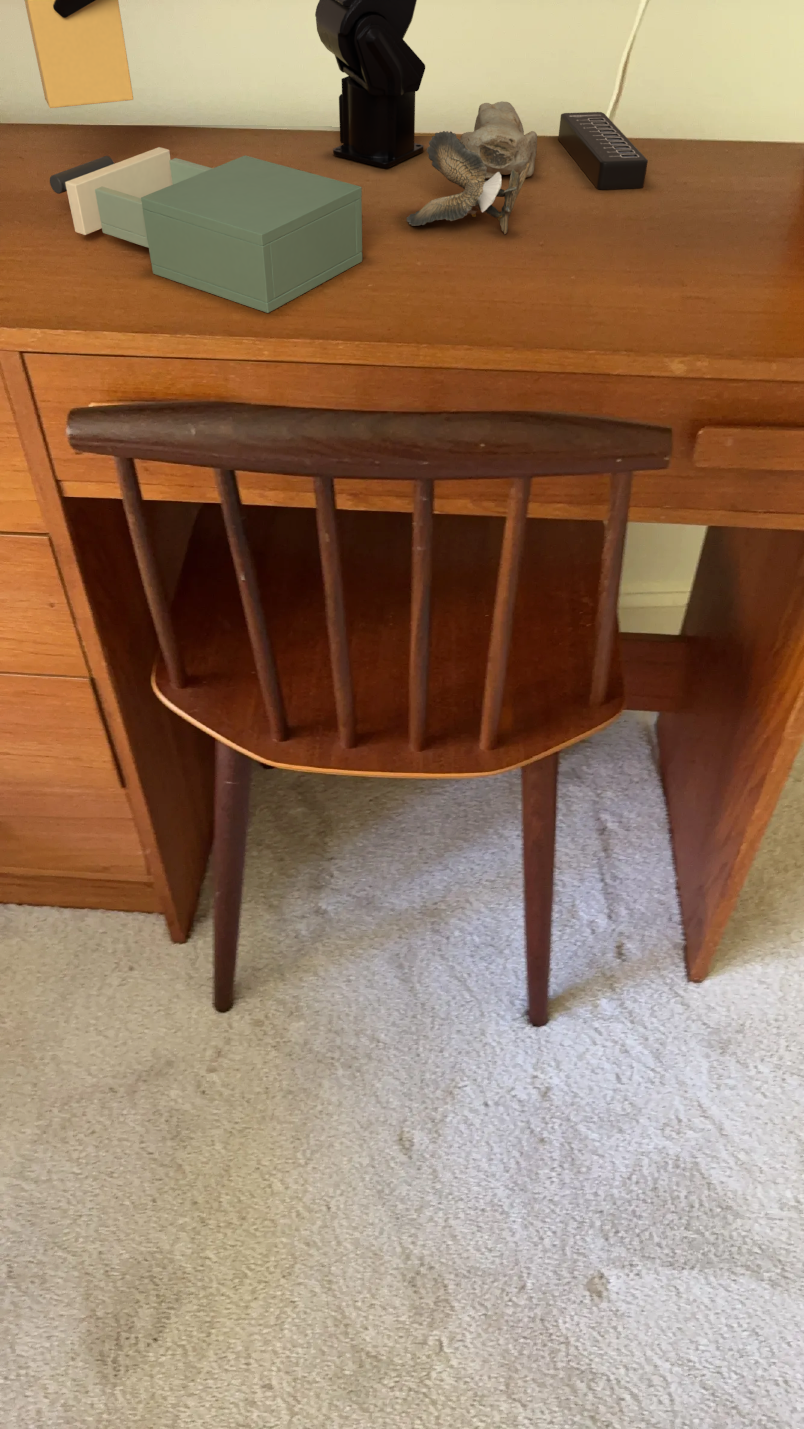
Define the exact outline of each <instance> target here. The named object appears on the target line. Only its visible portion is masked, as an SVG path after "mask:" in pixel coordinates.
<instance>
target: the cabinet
mask: <svg viewBox="0 0 804 1429" xmlns="http://www.w3.org/2000/svg"><path fill="white" fill-rule="evenodd" d="M212 168H213V169H210V170H208V171H205V172H203V173H200V174H198V175H195V176H193V177H190V178H188V179H185V180H183V181H181V182H178V183H176V184H173V185H171V186H168V187H166V188H163V189H161V190H158V191H156V192H153V193H151V194H148V195H146V196H144V197H141V202H142V208H143V215H144V221H145V228H146V234H147V240H148V247H149V248H148V252H149V258H150V263H151V270H152V275H156V276H158V277H161V278H163V279H166V280H170V281H173V282H175V283H176V282H177V283H179V284H182V285H185V286H188V287H189V288H193V289H196V290H199V291H202V292H205V293H208V294H210V295H213V296H217V297H220V298H223V299H226V300H228V301H231V302H234V303H237V304H240V305H243V306H246V307H248V308H252V309H254V310H257V311H260V312H263V313H266V314H269V313H271V312H273V311H275V310H277V309H279V308H281V307H282V306H284V305H286V304H287V303H290V302H291V301H293V300H295V299H296V298H298V297H300V296H302V295H304V294H306V293H308V292H310V291H311V290H313V289H315V288H317V287H319V286H320V285H322V284H324V283H326V282H328V281H330V280H331V279H333V278H335V277H337V276H339V275H341V274H342V273H344V272H346V271H348V270H349V269H351V268H353V267H355V266H356V265H358V264H360V263H362V262H363V208H362V207H363V206H362V205H363V204H362V202H363V200H362V199H363V198H362V196H363V191H362V186H360V185H356V184H353V183H349V182H345V181H342V180H338V179H334V178H331V177H327V176H323V175H320V174H316V173H312V172H309V171H304V170H301V169H297V168H294V167H290V166H286V165H283V164H279V163H275V162H271V161H267V160H264V159H260V158H257V157H253V156H248V155H242V156H240V157H238V158H235V159H232V160H230V161H228V162H225V163H223V164H220V165H218V166H215V167H212Z"/></svg>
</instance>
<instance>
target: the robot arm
mask: <svg viewBox="0 0 804 1429" xmlns="http://www.w3.org/2000/svg"><path fill="white" fill-rule="evenodd" d="M94 1H95V0H55V1H54V4H53V8H54V10H55V11H56V12H57V13H58V14H59V15H60V16H62V17H63V18H66V17H68V16H70V15H71V14H73V13H75V12H77V11H78V10H80V9H82V8H83V7H85V6H87V5H89V4H90V3H92V2H94ZM417 1H418V0H319V1H318V2H317V5H316V8H315V13H314V17H315V23H316V32H317V35H318V37H319V39H320V42H321V43H322V44H323V46H324V47H325V49H326V50H327V51H329V52H330V53H332V54H333V55H334V58H335V60H336V64H337V66H338V70H339V71H340V72H341V73H344V74H346V75H347V76H345V77H343V78H341V94H340V95H339V96H338V114H339V116H338V117H339V118H338V119H339V122H338V123H339V142H340V143H341V145H339V146H335V147H334V148H333V149H332V155H333V156H335V157H339V158H344V159H348V160H351V161H356V162H359V163H363V164H367V165H370V166H374V167H379V168H382V169H388V168H391V167H393V166H395V165H397V164H400V163H401V162H403V161H405V160H408V159H410V158H412V157H414V156H417V155H419V154H421V153H423V152H424V149H425V148H424V145H423V144H420V143H416V142H415V130H416V92H418V91H419V90H420V88H421V84H422V82H423V81H422V80H423V78H424V74H425V71H426V64H425V62H424V61H422V59H421V58H420V57H419V56H418V55H417V53H416V52H415V51H414V50H413V49H412V48H411V46H409V45H408V43H407V42H406V41H405V40H404V38H405V36H406V35H407V32H408V30H409V28H410V25H411V23H412V21H413V18H414V14H415V10H416V6H417Z"/></svg>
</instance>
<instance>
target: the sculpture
mask: <svg viewBox="0 0 804 1429" xmlns="http://www.w3.org/2000/svg"><path fill="white" fill-rule="evenodd" d="M459 140H460V142H461V143H462V144H464V145H465V148H467V149H468V151H472V152H476V153H477V154H478V155H479V157H480V158H481V159H482V161H483V163H484V166H486V168H487V170H486V171H487V174H486V177H485V180H489V179H490V178H491V177H493V176H494V175H495V174H496V173H497V172H500V174H501V176H508V175H511V171H512V169H514V170H515V171H516V172H517V173H519V176H520V174H521V172H522V171H523V169H524V168H525V166H526V164H527V163H530V167H529V170H528V173H527V176H526V178H529V177H531V176H533V175H534V172H535V167H536V165H535V163H536V156H537V152H538V151H537V150H538V134H537V133H536V131H535V130H531V131H529V132H527V133H525V130H524V126H523V123H522V120H521V119H520V116H519V114H518V113H517V111H516V109H515V107H514V106H513V105H512V103H510V102H508V101H503V100H502V101H497V102H494V103H490V102H484V103H480V104H479V107H478V112H477V115H476V118H475V122H474V128H473V130H472V131H467V132H463V133H462V135H461V136H460V138H459Z"/></svg>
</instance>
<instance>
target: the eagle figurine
mask: <svg viewBox="0 0 804 1429" xmlns="http://www.w3.org/2000/svg"><path fill="white" fill-rule="evenodd" d="M428 145H429V146H427V148H426V153H427V154H428V159H429V161H431V166H432V167H433V168H434V169H435V170H436V171H438V172H440V173H441V174H442V175H443V177H444V178H445V179H446V180H447V181H449V182H450V183H452V184H454V185H456V186H459V187H460V188H462V189H463V191H461V192H459V193H455V194H451V195H448V196H447V195H446V196H442V197H438V198H434V199H431V200H430V201H429V202H427V203H426V204H424V206H423V207H421V209H419V210H418V211H415V213H410V214H409V215H408V216H406V222H407V223H408V225H411V226H412V227H416V226H418V227H419V226H421V225H422V226H425V225H426V224H427V223H433V222H435V221H440V220H441V221H443V220H446V221H450V222H453V221H457V220H459V219H463V218H464V217H466V216H467V215H471V217H472V218H476V217H477V215H476V214H477V212H479V211H480V212H481V213H484V214H485V213H486V214H487V215H489V216H490V217H491V218H494V219H497V221H498V222H499V225H500V230H501V232H503V234H504V235H506V234H508V230H509V220H510V219H509V218H510V217H511V214H512V211H513V209H514V206H515V203H516V200H517V198H518V195H519V193H520V192H521V190H522V187H523V185H524V182H525V180H526V178H527V177H526V176H527V173H528V170H529V167H530V163H527V164H526V166H525V168H524V169H523V171H522V172H521V174H520V175H519V173H517V172H516V171H515V170H514V169H512V171H511V174H509V175H510V176H509V182H508V187H507V189H503V188H502V184H503V183H502V181H503V180H502V177H503V175H502V174H500V172H497V173H496V174H495V175H494V176H493V177H491V178H489V179H485V177H486V174H487V171H486V170H487V168H486V166H484V163H483V161H482V159H481V158H480V157H479V155H478V154H477V153H476V152H472V151H468V149H467V148H465V145H464V144H462V143H461V142H460V138H458V136H457V134H456V132H452V131H449V130H446V131H445V130H443V131H439V132H435V133H434V135H433V136H432V137H431V139H430V140H429V141H428ZM496 197H498V198H504V202H503V206H502V207H501V211H499V210H498V209H497V208H496V206H493V205H492V204H494V202H495V200H496Z"/></svg>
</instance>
